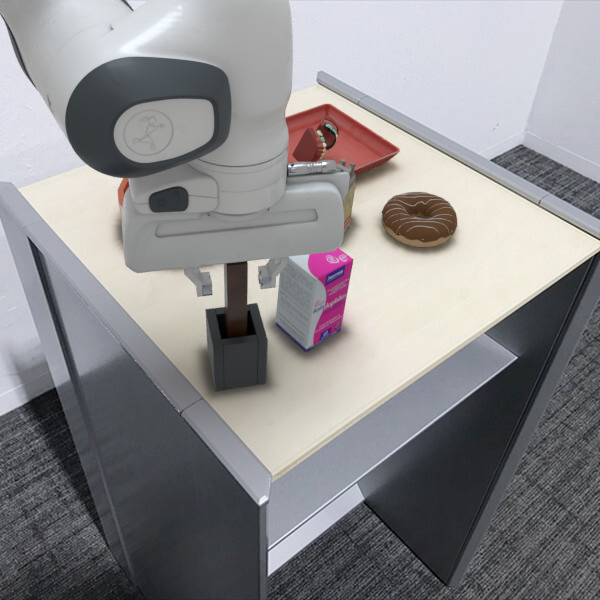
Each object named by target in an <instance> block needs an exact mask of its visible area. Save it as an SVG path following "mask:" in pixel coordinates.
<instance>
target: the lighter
mask: <svg viewBox="0 0 600 600" xmlns="http://www.w3.org/2000/svg"><path fill="white" fill-rule="evenodd" d="M345 164H346V160H345V159H340V165H343V166H344V167H345ZM336 169H337V168H336ZM346 169H347V170H348V172H349V175H350V181H349V188H348V193H347V195H346V197H345V198H344V199H343V200H342V202H343V211H344V234H345V233H346V232H347V230H348V229H349V227H350V226H351V218H352V211H353V205H354V198H355V192H356V185H357V183H356V176H357V175H356V176H355V173H354V169H355V164H354V163H350V164H349V166H348V167H347V168H346Z"/></svg>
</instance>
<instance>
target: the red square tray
mask: <svg viewBox="0 0 600 600" xmlns="http://www.w3.org/2000/svg"><path fill="white" fill-rule="evenodd" d="M325 114H326V115H327V116H329V117H331V118H332V119H333V120H334V121H335V122H336V123H337V125H338V128H339V134H338V138H337V141H336V143H335V145H334V146H333V147H332V148H331V149H330V150H326V152H325V155H324V156H323V158H322V159H321V160H334V161H335V162H336V164H340V159H345V160H346V164H345V168H347V167H348V166H349V164H350V163H354V164H355V169H354V173H355V176H359V175H361V174H363V173H366V172H368V171H371V170H373V169H375V168H378V167H381V166H383V165H384V164H385V163H388V162H389V161H390V160H392V159H393V158H394V157H396V156H397V155H398V154H399V153H400V152H401V149H400V148H399V147H398V146H397V145H395V144H393V143H392V142H390V141H389V140H388V139H385V138H384V137H383V136H381V135H380V134H378V133H376V132H375V131H373V130H372V129H371V128H368V126H366V125H364V124H363V123H362V122H359V121H358V120H356V119H354V118H353V117H352V116H350V115H349V114H347V113H345V112H344V111H342V110H341V109H339V108H337V106H335V105H333V104H331V103H322V104H320V105H317V106H314V107H311V108H308V109H305V110H302V111H299V112H296V113H294V114H290V115H288V116H285V119H286V124H287V127H288V133H289V145H288V162H287V163H292V162H298V161H297V160H296V159H295V158H294V157H293V155H292V154H293V152H294V150H295V148H296V146H297V145H298V143H299V141H300V139H301V138H302V136H303V134H304V132H305V131H306V129H307V128H309V127H313V129H314V130H316V129H317V127H318V125H319V123H320V122H321V120H322V118H323V117H324V115H325ZM321 160H320V161H321ZM318 162H319V161H318Z"/></svg>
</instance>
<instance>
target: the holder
mask: <svg viewBox="0 0 600 600" xmlns="http://www.w3.org/2000/svg"><path fill="white" fill-rule="evenodd" d="M205 328H206V329H205V330H206V347H207V348H206V349H207V351H206V352H207V358H208V362H209V363H208V364H209V368H210V372H211V378H212V382H213V387H214V388H213V389H214V392H218V391H226V390H231V389H238V388H246V387H252V386H258V385H264V384H267V368H268V367H267V365H268V346H269V345H268V341H269V339H268V336H267V333H266V329H265V325H264V321H263V318H262V315H261V310H260V308H259V305H258V303H257V302H253V303H247V336H242V337H235V338H228V339H225V306H221V307H213V308H205Z"/></svg>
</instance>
